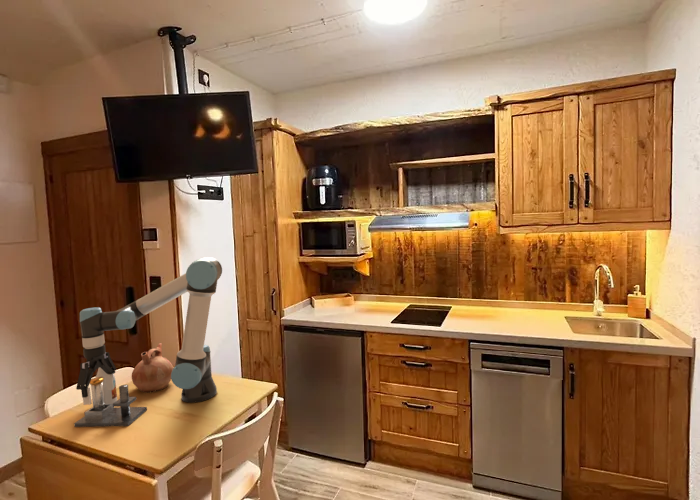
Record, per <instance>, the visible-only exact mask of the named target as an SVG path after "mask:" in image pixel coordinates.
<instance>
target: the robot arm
mask: <svg viewBox="0 0 700 500" xmlns="http://www.w3.org/2000/svg"><path fill="white" fill-rule="evenodd" d="M222 273H223V266H222V264H221V262H220V261H219V260H218V259H216V258H214V257H210V256H206V257H203V258H202V257H201V258H199V259H196V260H194V261H193V262H191V263H190V265H188V267H187V269H186V272H185V273H184V274H182V275H180V276H179V277H176V278H174V279H173V280H171V281H169V282H167V283H165V284H163V285H162V286H159V287H158V288H157V289H154V290H153V291H151V292H149V293H147V294H146V295H144V296H142V297H141V298H138V299H137V300H135V301H133V302H131V303H129V304H127V305H125V306H124V307H122V308H119V309H117V310H114V311H113V310H112V311H105V312H104V311H102V308H101V307H99V306H98V307H88V308H84V309H82V310H80V312H79V325H80V332H81V340H82V341H81V342H82V347H83V349H82V351H83V357H84V358H85V360H86V362H81V363H80V365H79V366H80V371H79V375H78V380H77V384H76V388H75V389H76V391H77V390H81V397H82V403H83V405H84V406H87V405H89V406H90V405H93V402H92V393H91V387H89V385H90V381H91V379H93V378H92V377H93V375H94V373H95V372H96V370H98V369H99V367H100V368H101V369H102V370H103V371H105V372H106V373H107V374H106V375H105V378H106V387H107V390H113V389H114V384H113V374H114V375H115V373H116V371H117V367H116V365H115V364H114V362H113V360H112V358H111V354H110V352H108V351H107V350H106V344H105V343H106V341H105V333H104V332H105V331H106V332H107V331H118V330H120V331H121V330H123V331H124V330H126V329H127V330H128V329H132V328H133V327H134V326H135V324H136V321H138V320H139V319H141V318H143V317H144V316H146V315H147V314H150V313H152V312H154V311H155V310H157V309H159V308H161V307H163V306H164V305H166V304H168V303H169V302H172V301H174V300H175V299H176V298H179V297H180V296H183V295H184V294H186V293H189V295H188V297H189V298H188V303H187V310H186V316H185V324H184V331H183V337H182V344H181V349H180V350H179V351H177V352H176V358H175V364H174V366H173V370H172V373H171V380H170V381H171V382H172V384H173V385H175V387H177V388H179V389H180V390H182V391H181V395H180V396H181V400H182V401H183V402H185V403H189V404H190V403H193V404H194V403H200V402H204V401H207V400H210V399H212V398H213V397H215V396H216V395H217V392H218V391H217V385H216V383H215V380H214V379H213V377H212V359H211V349H210V346H209V345H208V344H205V340H206V334H207V327H208V321H209V320H208V319H209V314H210V309H211V308H210V307H211V302H212V301H211V300H212V296H213V295H215V293H216V291H217V286H218V285H217V284H218V280H219V279H220V278H221V276H222ZM106 351H107V352H106Z"/></svg>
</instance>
